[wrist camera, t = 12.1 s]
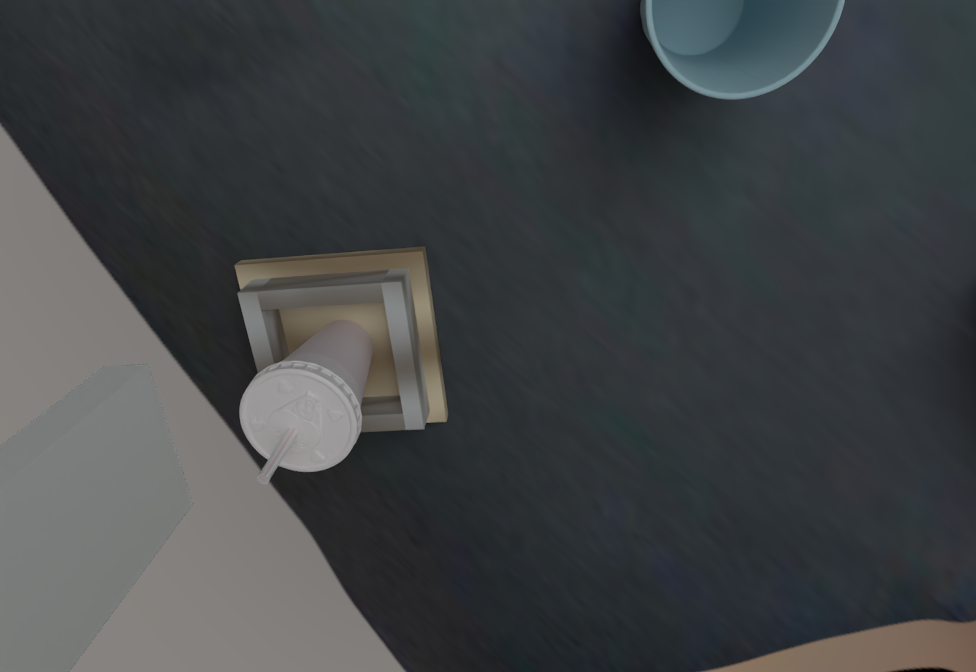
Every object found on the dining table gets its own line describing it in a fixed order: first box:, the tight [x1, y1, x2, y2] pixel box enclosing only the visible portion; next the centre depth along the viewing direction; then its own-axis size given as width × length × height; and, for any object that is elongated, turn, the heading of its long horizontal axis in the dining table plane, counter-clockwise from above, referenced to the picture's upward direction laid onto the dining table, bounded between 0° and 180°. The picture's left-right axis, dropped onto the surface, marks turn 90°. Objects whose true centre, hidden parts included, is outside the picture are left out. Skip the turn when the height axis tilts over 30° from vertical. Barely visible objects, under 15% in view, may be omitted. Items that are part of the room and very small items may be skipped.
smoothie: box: [239, 320, 374, 484], centre depth 39 cm, size 6×6×14 cm
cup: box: [640, 0, 845, 100], centre depth 32 cm, size 8×8×10 cm
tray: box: [234, 247, 448, 432], centre depth 44 cm, size 12×12×4 cm
